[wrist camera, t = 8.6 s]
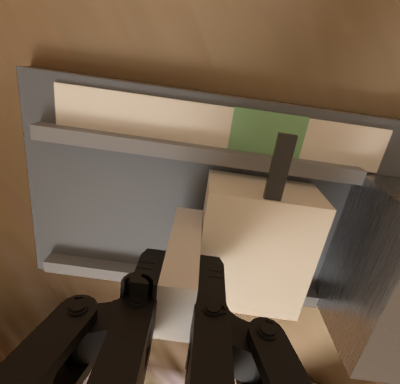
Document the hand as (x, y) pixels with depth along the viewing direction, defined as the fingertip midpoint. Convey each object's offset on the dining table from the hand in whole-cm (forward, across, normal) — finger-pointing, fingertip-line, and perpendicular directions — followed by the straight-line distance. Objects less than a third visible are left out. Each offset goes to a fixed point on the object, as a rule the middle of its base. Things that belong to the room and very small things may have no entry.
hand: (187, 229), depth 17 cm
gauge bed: (+2, +1, +1) cm, 3 cm away
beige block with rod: (+1, +4, +2) cm, 4 cm away
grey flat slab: (+2, +11, 0) cm, 11 cm away
